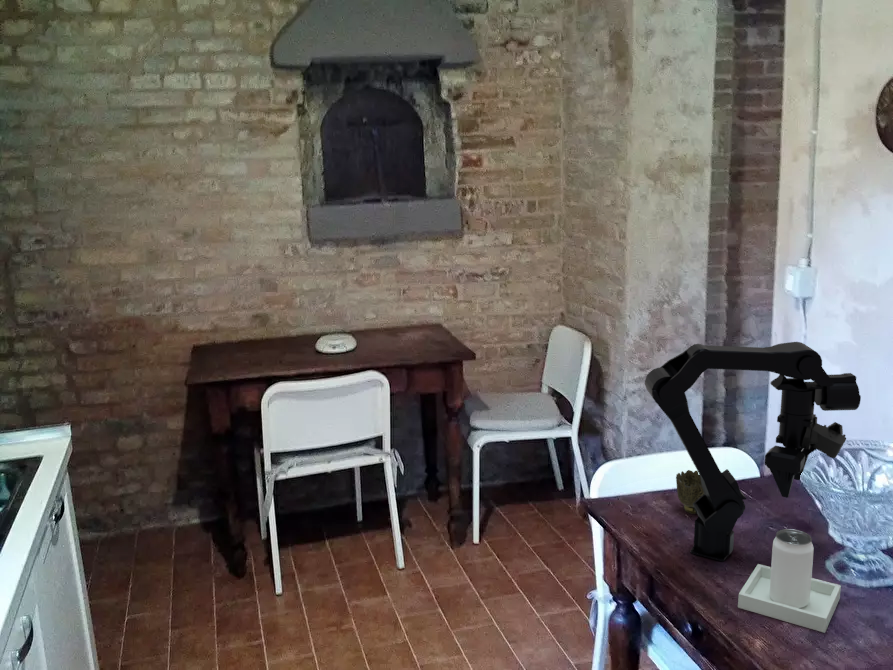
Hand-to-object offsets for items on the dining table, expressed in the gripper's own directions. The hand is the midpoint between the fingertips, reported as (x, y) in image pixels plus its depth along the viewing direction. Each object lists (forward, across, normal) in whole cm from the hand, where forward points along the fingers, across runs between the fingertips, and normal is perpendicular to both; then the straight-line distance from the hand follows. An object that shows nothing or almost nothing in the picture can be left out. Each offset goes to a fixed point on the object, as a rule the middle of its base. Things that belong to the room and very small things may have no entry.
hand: (791, 488), depth 160 cm
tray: (+13, -19, -5) cm, 24 cm away
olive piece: (+13, +7, +21) cm, 26 cm away
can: (+13, -19, -5) cm, 23 cm away
